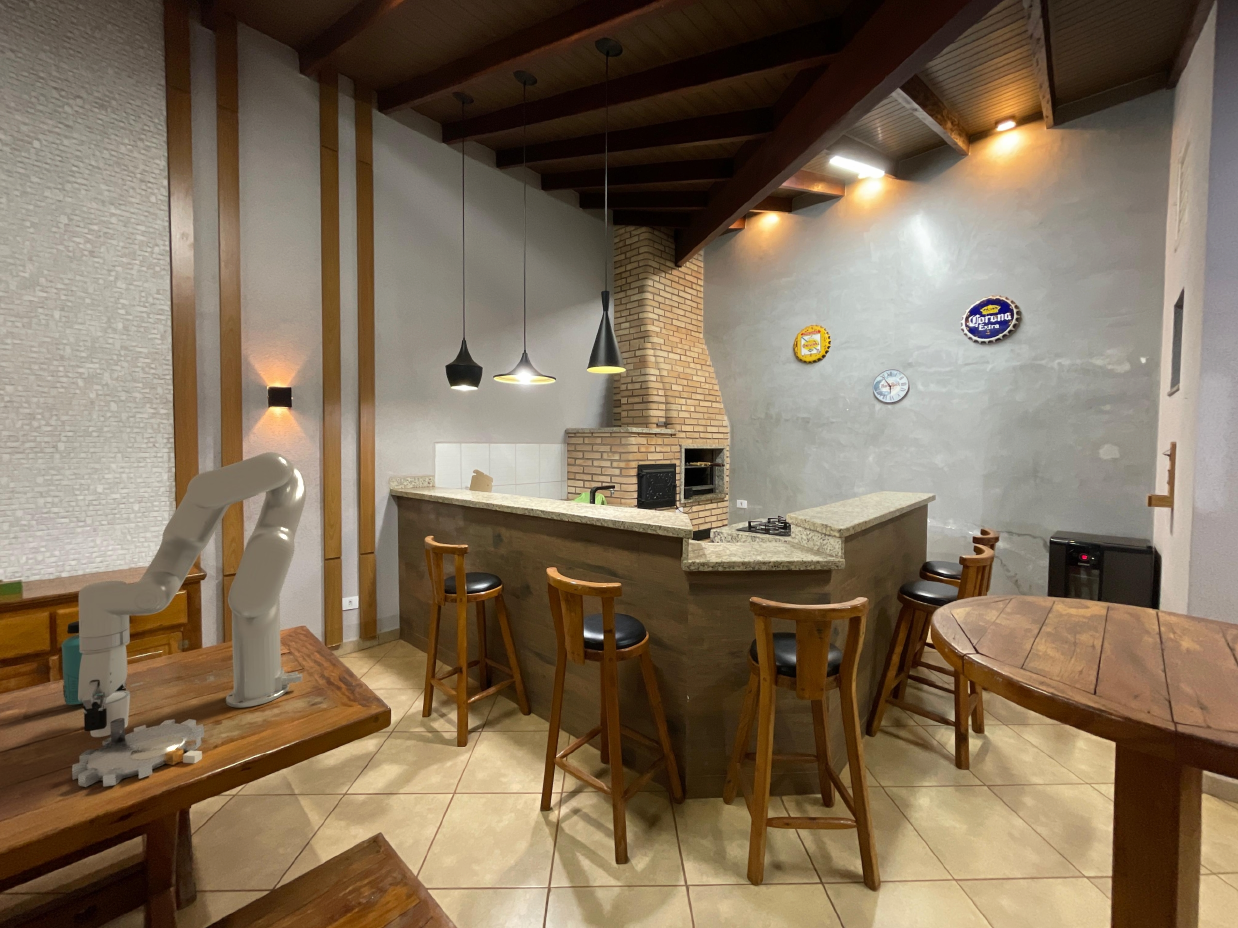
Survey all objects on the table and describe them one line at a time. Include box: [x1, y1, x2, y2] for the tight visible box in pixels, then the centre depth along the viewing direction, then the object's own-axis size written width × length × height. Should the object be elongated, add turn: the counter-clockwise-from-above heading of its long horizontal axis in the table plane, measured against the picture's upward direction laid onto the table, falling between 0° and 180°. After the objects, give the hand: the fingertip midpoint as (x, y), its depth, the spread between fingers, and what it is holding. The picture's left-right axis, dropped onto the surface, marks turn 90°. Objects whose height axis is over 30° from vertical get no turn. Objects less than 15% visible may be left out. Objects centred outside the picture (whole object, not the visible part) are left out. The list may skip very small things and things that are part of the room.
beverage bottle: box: [61, 620, 103, 706], centre depth 118 cm, size 6×7×20 cm
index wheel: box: [71, 718, 205, 788], centre depth 98 cm, size 19×19×6 cm
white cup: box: [89, 690, 131, 738], centre depth 108 cm, size 7×7×7 cm
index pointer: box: [182, 750, 203, 764], centre depth 97 cm, size 2×2×2 cm, turn 84°
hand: (106, 717), depth 107 cm, fingers open, 9 cm apart
